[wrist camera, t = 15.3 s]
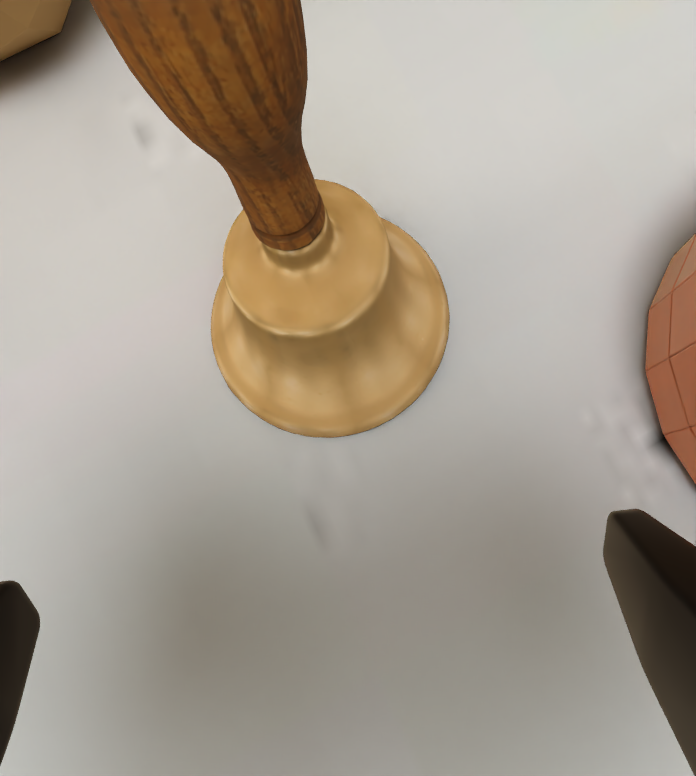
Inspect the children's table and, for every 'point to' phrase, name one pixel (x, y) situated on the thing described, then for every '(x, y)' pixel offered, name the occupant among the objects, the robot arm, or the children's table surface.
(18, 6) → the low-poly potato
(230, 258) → the hand bell
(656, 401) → the bowl
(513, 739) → the children's table surface
